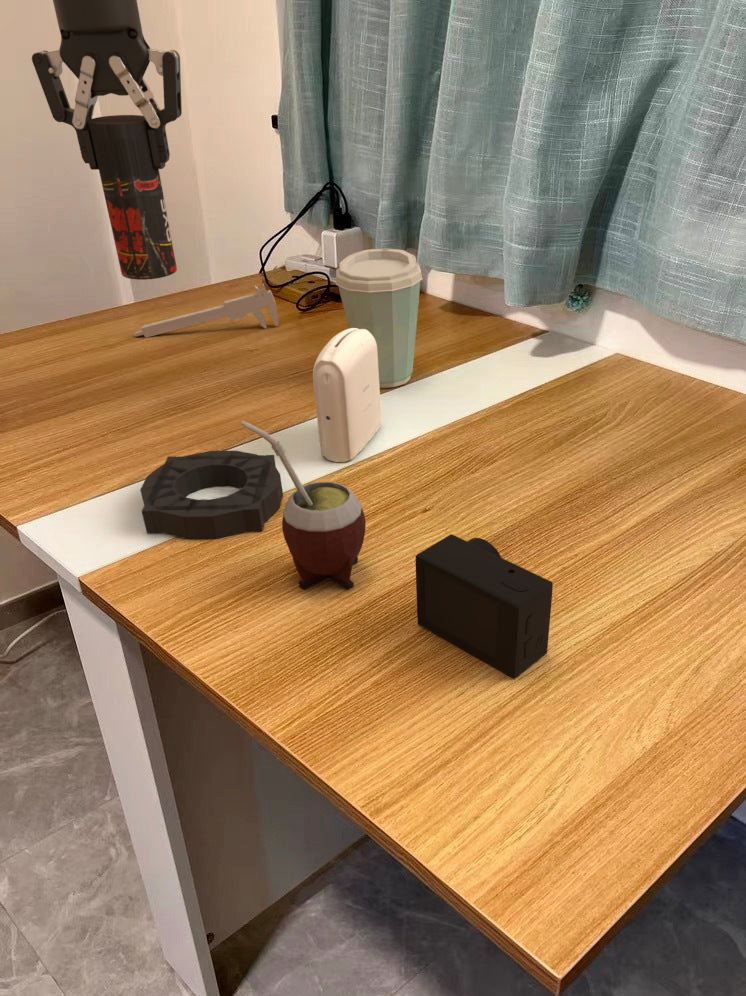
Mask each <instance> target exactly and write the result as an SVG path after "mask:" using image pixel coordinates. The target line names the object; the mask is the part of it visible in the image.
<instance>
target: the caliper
mask: <svg viewBox="0 0 746 996" xmlns="http://www.w3.org/2000/svg"><path fill="white" fill-rule="evenodd" d="M254 289H255V293H256V294H257V295H256V294H255V293H250V294H247V295H243V296H239V297H236V298H232V299H227V300H224V301H223V303H224V304H221V305H217V306H214V307H210V308H209V307H208V308H205V309H202V310H198V311H193V312H190V313H187V314H183V315H179V316H174V317H171V318H167V319H163V320H160V321H156V322H152V323H147V324H144V325H142V326H141V329H139V330H135V332H134V335H133V336H134V337H140V336H144V338H151V337H154V336H158V335H161V334H165V333H170V332H172V331H173V332H174V331H176V330H180V329H183V328H188V327H191V326H195V325H199V324H204V323H207V322H210V321H216V320H217V319H223V318H226V317H228V318H229V321H230V322H233V321H235V320H237V319H239V320H240V319H243V318H245V317H246V316H248V314H252V315H253V316H254V317H255V319H256V320H257V322H258V323H259V325H261V327H262V328H264V329H265V330H267V329H268V328H267V327H268V326H267V323H266V319H265V317H264V314H263V312H262V308H264V307H267V309H268V311H269V313H270V316H271V318H272V321H273V324H274V326H275V327H277V326H278V325H279V316H278V308H277V302H276V300H275V298H274V295H273V293H272V290H271V289H269V290H268V289H266V285H265V282H264V283H262V285H261V289H260V288H259V287H258V286H257V285H254Z"/></svg>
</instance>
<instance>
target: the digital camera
mask: <svg viewBox="0 0 746 996" xmlns="http://www.w3.org/2000/svg"><path fill="white" fill-rule="evenodd" d="M553 586H554V584H553V581H551V580H549V579H546V578H545V577H542V576H540V575H539V574H537V573H534V572H532V571H530V570H528V569H526V568H524V567H522V566H520V565H517V564H515V563H513V562H512V561H510V560H508V559H505V558H503V557H502V556H501V553H500V552H499V550H498V549H497V548H496V547H495V546H494V545H493V544H492V543H490V542H489V541H487V540H486V539H483V538H480V537H472V538H470V539H469V540H465V539H463V538H461V537H459V536H456V535H455V534H452V533H451V534H448V535H447V536H445V537H443V538H442V539H441V540H438V541H437V542H436V543H434V544H432V545H431V546H429V547H427V548H426V549H424V550H422V551H420V552H418V553H417V554H416V555H415V588H416V589H415V590H416V616H417V618H416V619H417V625H418V626H420V627H422V628H424V629H425V630H427V631H429V632H430V633H433V634H434V635H436V636H438V637H440V638H441V639H444V640H445V641H447V642H449V643H451V644H452V645H454V646H456V647H458V648H460V649H461V650H463V651H465V652H466V653H468V654H470V655H472V656H473V657H475V658H477V659H479V660H480V661H483V662H484V663H486V664H488V665H489V666H491V667H493V668H495V669H496V670H498V671H500V672H502V673H503V674H506V675H507V676H509V677H511V678H513V679H514V680H515V679H517V678H518V677H519V676H520V675H522V674H523V673H524V672H526V671H527V670H528V669H529V668H531V667H532V666H533V665H534V664H535V663H537V662H538V661H539V660H541V659H542V658H543V657H544V656H545V655H547V654H548V648H549V635H550V624H551V623H550V622H551V612H552V600H553V589H554V588H553Z"/></svg>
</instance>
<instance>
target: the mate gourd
mask: <svg viewBox="0 0 746 996" xmlns="http://www.w3.org/2000/svg"><path fill="white" fill-rule="evenodd" d="M241 426H243V427H245V428H247V429H248V430H250V431H252V432H253V433H255V434H256V435H258V436H260V437H261V438H263V439H264V440H265V441H266V442H268V443H269V444H270V447H271V449H272V451H273V452H274V453H275V455H276V456H277V457H279V459H280V461H281V463H282V465H283V466H284V468H285V470H286V472H287V474H288V476H289V477H290V479H291V481H292V484H293V485H294V487H295V489H296V490H294V491H293V492H292V493H291V494H290V496H289V497H288V499H287V501H286V502H285V505H284V506H283V507H284V508H283V511H282V520H281V529H282V534H283V538H284V541H285V543H286V546H287V548H288V551H289V553H290V555H291V557H292V561H293V564H294V566H295V569H296V571H297V573H298V575H299V578H300V581H298V582H297V584H298V586H299V588H300V589H301V590H304V591H305V590H307V589H310V588H311V587H313V586H315V585H318V584H319V583H322V582H324V581H325V580H331V581H332V582H334V583H335V584H337V585H338V586H340V587H341V588H342V589H344V590H346V591H349V590H351V589H353V588H354V587H355V586H354V585H355V582H354V581H352V579H351V576H352V575H351V574H352V569H353V566H355V565H356V564H358V562H359V557H358V556H359V555H360V552H361V550H362V547H363V545H364V540H365V535H366V525H367V522H366V516H365V512H364V510H363V505H362V503H361V502H360V500H359V498H358V497H357V496H356V494H355V493H354V492H353V491H352V490H351V489H350V488H349V487H347V486H345V485H343V484H342V483H338V482H334V481H316V482H309V483H307V484H304V485H302V482H301V481H300V479H299V477H298V475H297V473H296V471H295V470H294V467H293V466H292V464H291V461H290V460H289V458H288V455H287V454H286V449H285V447H284V446H283V445H282V443H281V442H280V441H279V440H276V438H275V437H274V436H272V435H270V434H269V433H268V432H267V431H265V430H263V429H261V428H259V427H258V426H255V425H254V424H252V423H249V422H248V421H245V420H243V419H242V420H241Z"/></svg>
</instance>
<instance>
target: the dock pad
mask: <svg viewBox="0 0 746 996" xmlns="http://www.w3.org/2000/svg"><path fill="white" fill-rule="evenodd" d="M275 459H276V458H275V455H274V454H257V453H251V452H246V451H241V450H208V451H203V452H198V453H193V454H187V455H183V456H181V455H180V456H174V455H173V456H172V455H171V456H167V457H166V459H165V461H164V464H162V465H160V466H159V467H157V468H156V469H154V470H153V471H152V472H151V473H149V474H148V475H146V477H145V479H144V482H143V484H142V485H141V487H140V494H141V499H142V502H143V507H142V509H141V515H142V519H143V522H144V527H145V531H146V534H164V535H168V536H173V537H178V538H181V539H186V540H188V539H189V540H202V539H204V540H205V539H207V540H209V539H221V538H224V537H225V538H226V537H229V536H234V535H239V534H243V533H246V532H247V533H248V532H263V530H264V526H265V523H266V522H267V521H269V520H270V519H271V518H272V516H274V515H275V514H276V513H277V512H278V511H279V510H280V508H281V505H282V501H283V497H284V493H283V485H282V479H281V473H280V472H279V470H278V469H277V466H276V460H275ZM227 486H228V487H232V488H237V489H239V490H237V491H235V492H233V493H230V494H228V495H226V496H221V497H217V498H216V497H215V498H212V499H211V498H210V499H196V498H190V497H187V496H188V495H190V494H192V493H195V492H197V491H199V490H201V489H206V488H211V487H227Z"/></svg>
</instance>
